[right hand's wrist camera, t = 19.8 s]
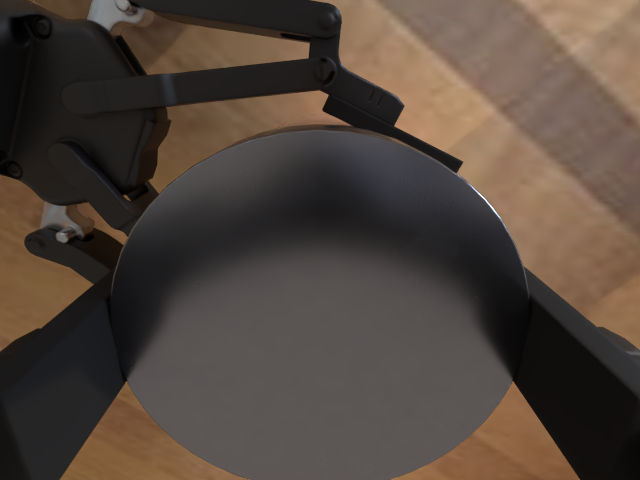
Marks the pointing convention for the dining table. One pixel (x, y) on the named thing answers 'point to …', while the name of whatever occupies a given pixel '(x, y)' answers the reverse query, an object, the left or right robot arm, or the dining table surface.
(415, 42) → the dining table surface
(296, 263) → the lid
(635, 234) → the dining table surface
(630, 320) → the dining table surface
